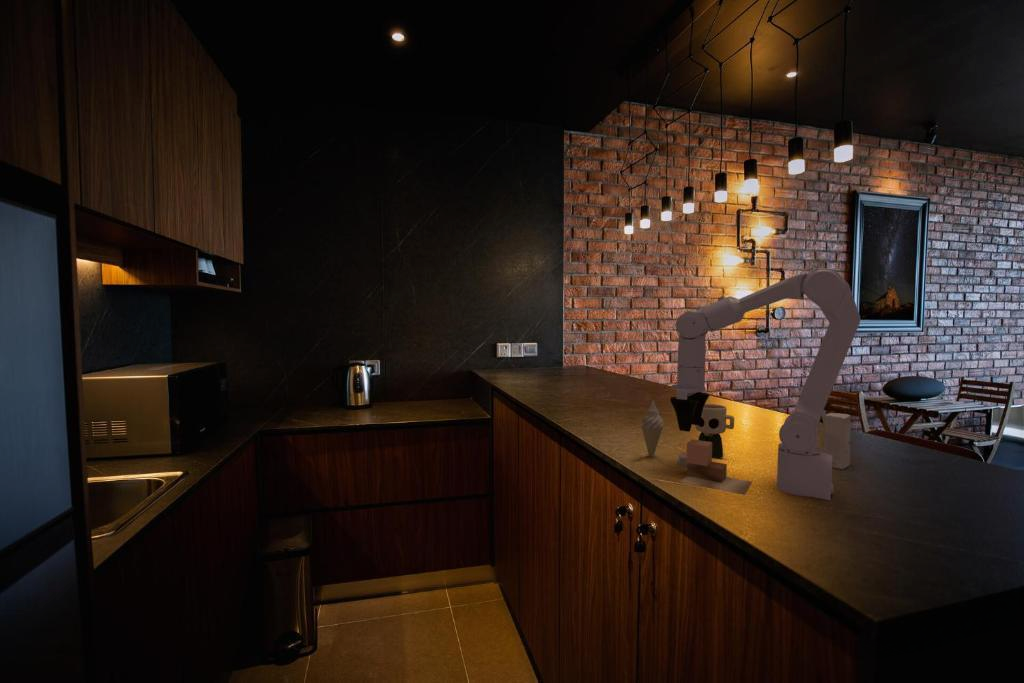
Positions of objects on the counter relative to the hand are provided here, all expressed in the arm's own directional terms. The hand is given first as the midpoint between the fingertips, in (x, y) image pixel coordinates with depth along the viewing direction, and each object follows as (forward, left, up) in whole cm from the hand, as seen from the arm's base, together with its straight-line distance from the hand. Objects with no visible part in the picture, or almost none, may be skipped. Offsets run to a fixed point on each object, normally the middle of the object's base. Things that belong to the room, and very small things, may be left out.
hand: (689, 427), depth 107 cm
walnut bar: (-5, +3, -10) cm, 12 cm away
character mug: (-1, -16, -11) cm, 19 cm away
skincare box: (-27, -28, -11) cm, 40 cm away
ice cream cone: (+10, -5, -11) cm, 15 cm away
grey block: (+1, -4, -11) cm, 11 cm away
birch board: (-7, +5, -10) cm, 13 cm away
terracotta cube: (-3, +3, -7) cm, 8 cm away
